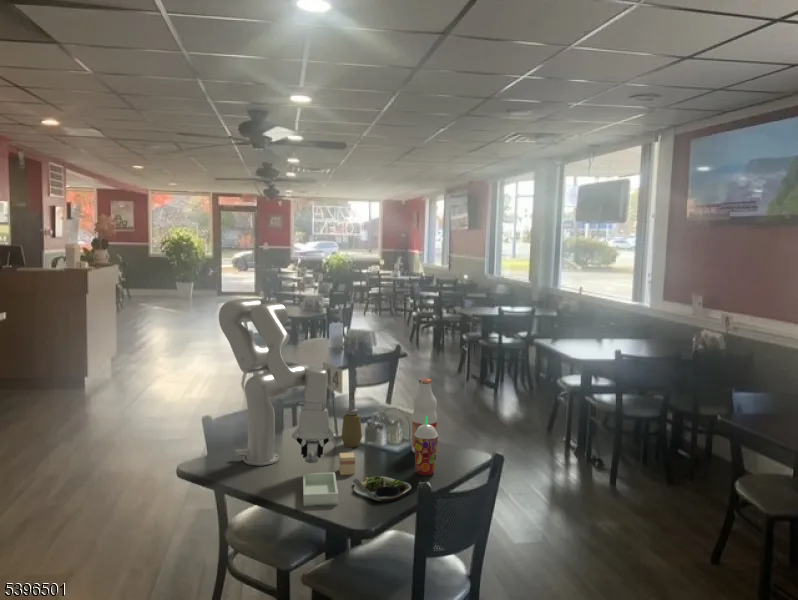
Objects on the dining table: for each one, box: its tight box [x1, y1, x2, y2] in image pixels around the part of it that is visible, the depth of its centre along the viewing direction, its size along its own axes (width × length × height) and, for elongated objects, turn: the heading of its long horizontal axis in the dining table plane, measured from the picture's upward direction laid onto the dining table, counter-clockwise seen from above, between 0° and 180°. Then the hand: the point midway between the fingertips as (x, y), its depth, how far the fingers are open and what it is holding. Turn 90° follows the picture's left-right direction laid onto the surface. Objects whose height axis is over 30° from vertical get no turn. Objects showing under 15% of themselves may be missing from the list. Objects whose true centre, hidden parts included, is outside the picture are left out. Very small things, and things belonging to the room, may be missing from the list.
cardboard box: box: [338, 452, 356, 476], centre depth 224 cm, size 5×5×6 cm
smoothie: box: [414, 416, 439, 477], centre depth 224 cm, size 8×8×20 cm
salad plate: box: [352, 475, 413, 503], centre depth 208 cm, size 19×18×5 cm
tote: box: [302, 471, 339, 507], centre depth 204 cm, size 10×18×4 cm, turn 9°
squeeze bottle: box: [341, 399, 363, 448], centre depth 252 cm, size 8×8×18 cm
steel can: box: [304, 439, 320, 464], centre depth 221 cm, size 5×5×7 cm
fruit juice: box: [411, 378, 438, 454], centre depth 246 cm, size 9×9×28 cm
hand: (311, 456), depth 221 cm, fingers closed on steel can, 4 cm apart
